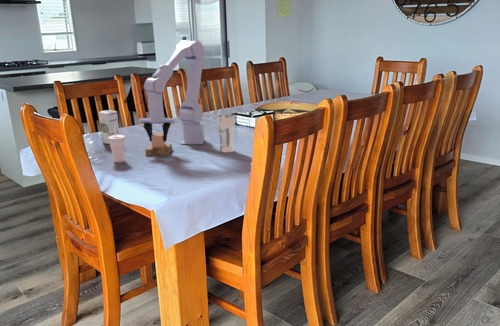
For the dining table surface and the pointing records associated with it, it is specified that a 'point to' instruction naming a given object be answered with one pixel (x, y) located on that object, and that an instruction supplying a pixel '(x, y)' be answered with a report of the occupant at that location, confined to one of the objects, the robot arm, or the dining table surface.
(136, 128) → the dining table surface
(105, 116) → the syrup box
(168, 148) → the walnut base
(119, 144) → the smoothie
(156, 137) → the terracotta block
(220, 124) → the beer glass
